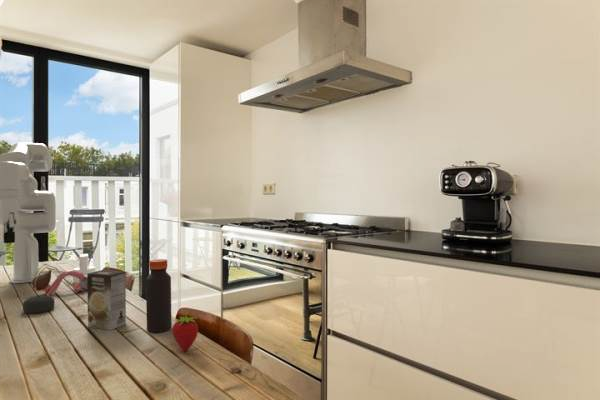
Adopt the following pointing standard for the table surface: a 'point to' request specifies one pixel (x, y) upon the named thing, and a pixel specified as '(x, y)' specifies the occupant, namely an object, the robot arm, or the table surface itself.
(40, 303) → the smart speaker
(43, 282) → the anatomy model
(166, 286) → the bottle
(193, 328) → the strawberry
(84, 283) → the charging dock
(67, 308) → the table surface
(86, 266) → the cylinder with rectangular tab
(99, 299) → the coffee box
